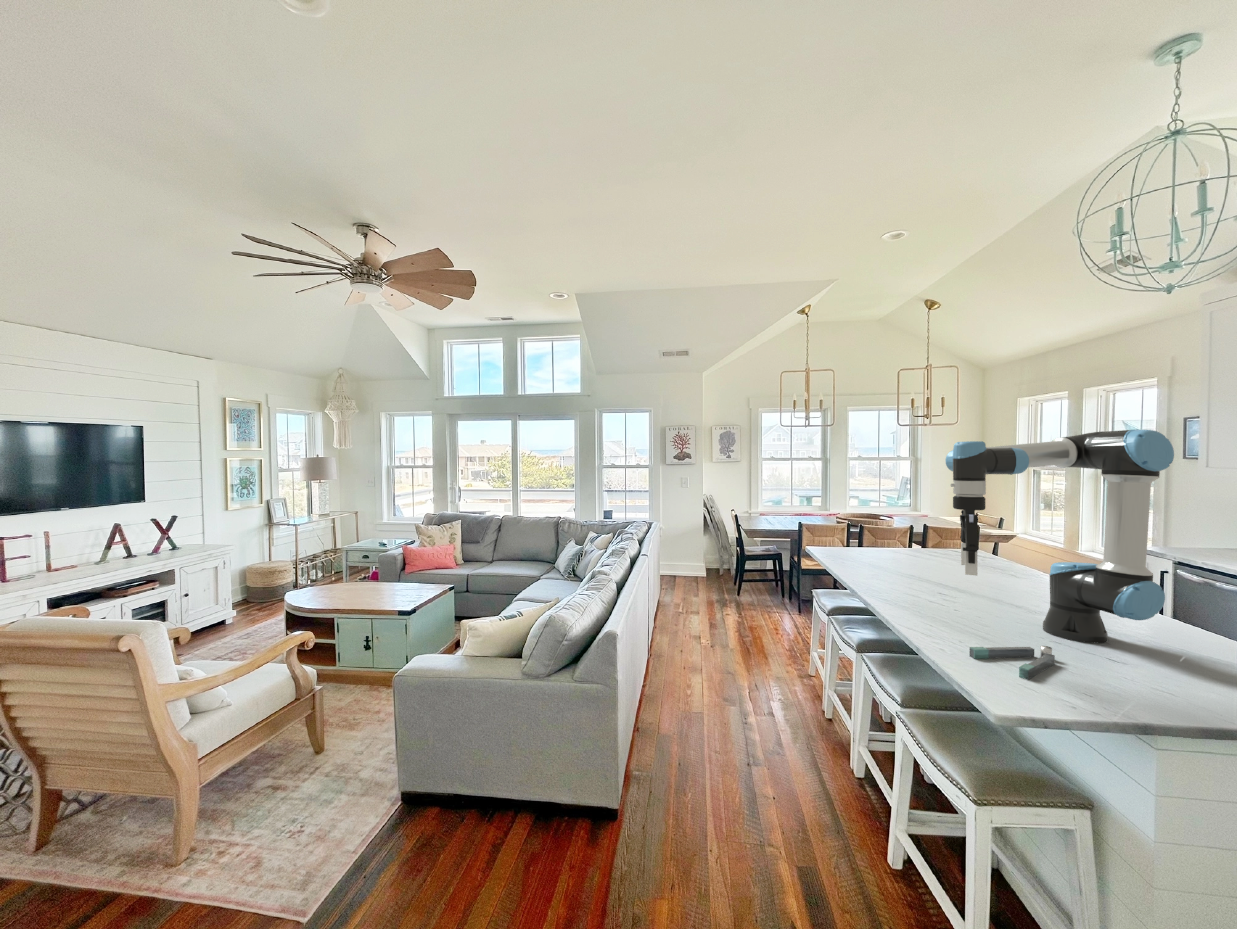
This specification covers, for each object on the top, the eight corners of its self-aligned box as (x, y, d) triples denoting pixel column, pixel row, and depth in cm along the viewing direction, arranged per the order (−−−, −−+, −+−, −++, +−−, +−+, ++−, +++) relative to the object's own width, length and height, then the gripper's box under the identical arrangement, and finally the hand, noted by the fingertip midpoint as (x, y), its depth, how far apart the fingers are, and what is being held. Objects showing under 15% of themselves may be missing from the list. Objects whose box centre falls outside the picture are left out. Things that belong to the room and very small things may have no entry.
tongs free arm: (1045, 661, 135) (1045, 652, 134) (1054, 664, 133) (1054, 654, 133) (1019, 676, 125) (1019, 666, 125) (1028, 679, 124) (1028, 669, 124)
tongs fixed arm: (1042, 654, 139) (1042, 643, 139) (1054, 660, 135) (1054, 649, 135) (969, 656, 139) (969, 645, 139) (979, 661, 135) (979, 650, 135)
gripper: (950, 492, 150) (950, 560, 151) (956, 498, 129) (955, 577, 129) (980, 493, 146) (980, 562, 147) (991, 499, 125) (991, 581, 126)
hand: (968, 570), depth 138 cm, fingers open, 13 cm apart
